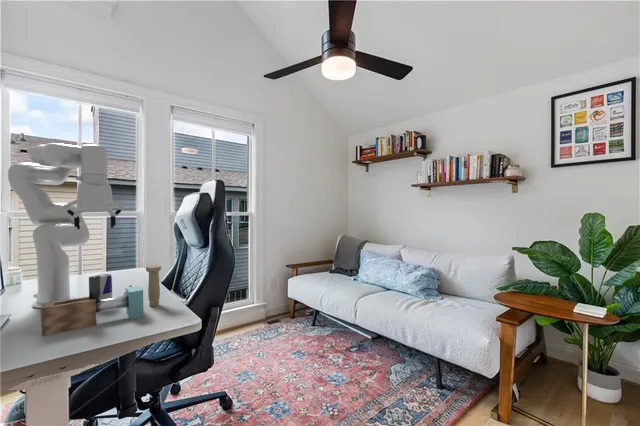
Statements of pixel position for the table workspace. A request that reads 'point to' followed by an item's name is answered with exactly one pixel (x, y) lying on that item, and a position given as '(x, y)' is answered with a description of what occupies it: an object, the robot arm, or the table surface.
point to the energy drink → (106, 286)
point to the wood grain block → (67, 315)
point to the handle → (153, 284)
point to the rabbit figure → (125, 289)
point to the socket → (135, 302)
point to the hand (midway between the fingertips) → (95, 228)
